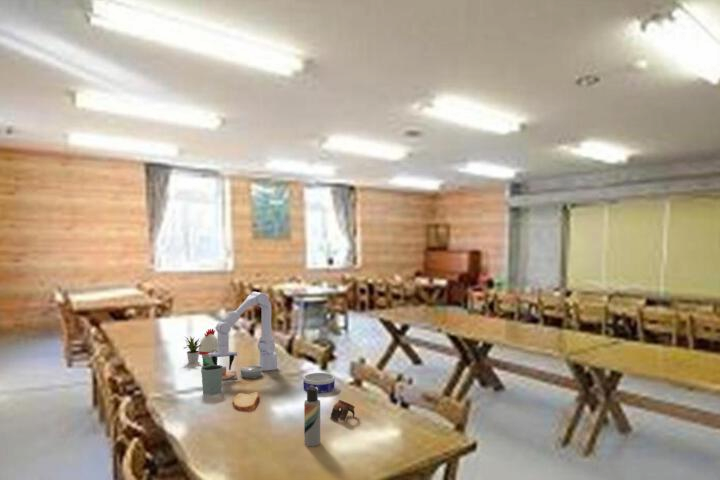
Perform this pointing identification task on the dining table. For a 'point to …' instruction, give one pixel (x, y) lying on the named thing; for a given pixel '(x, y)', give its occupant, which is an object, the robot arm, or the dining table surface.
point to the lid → (227, 374)
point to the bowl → (251, 371)
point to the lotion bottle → (312, 418)
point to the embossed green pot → (212, 379)
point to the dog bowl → (319, 382)
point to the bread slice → (246, 401)
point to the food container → (206, 358)
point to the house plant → (193, 350)
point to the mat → (232, 377)
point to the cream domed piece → (208, 343)
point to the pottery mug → (343, 412)
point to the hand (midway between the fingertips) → (223, 370)
